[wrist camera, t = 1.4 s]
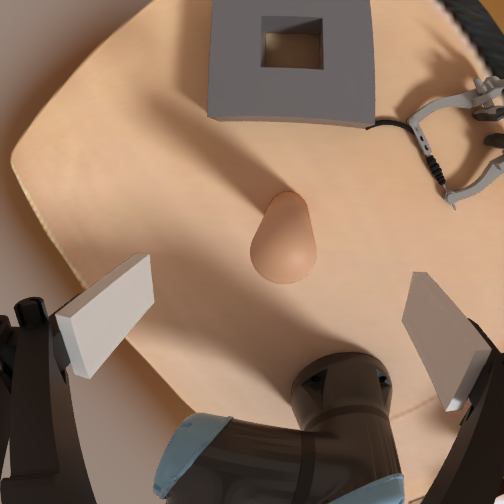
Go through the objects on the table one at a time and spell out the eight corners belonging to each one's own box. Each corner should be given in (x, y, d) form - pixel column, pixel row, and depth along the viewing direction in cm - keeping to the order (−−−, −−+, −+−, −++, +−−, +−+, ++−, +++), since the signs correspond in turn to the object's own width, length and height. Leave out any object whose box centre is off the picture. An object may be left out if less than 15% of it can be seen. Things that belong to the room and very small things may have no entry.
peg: (306, 231, 35) (313, 286, 21) (268, 228, 35) (249, 281, 21) (309, 193, 33) (319, 222, 19) (269, 190, 34) (250, 218, 20)
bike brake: (485, 67, 24) (362, 125, 32) (509, 60, 18) (368, 126, 26) (524, 163, 27) (410, 224, 35) (551, 173, 21) (424, 243, 29)
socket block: (363, 128, 30) (374, 124, 26) (219, 121, 32) (207, 116, 27) (359, 6, 25) (368, -13, 20) (224, 1, 27) (214, -17, 22)
